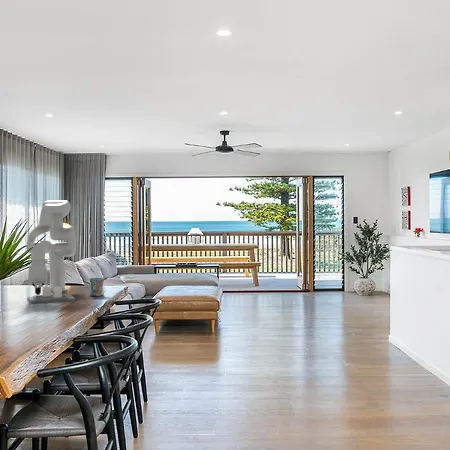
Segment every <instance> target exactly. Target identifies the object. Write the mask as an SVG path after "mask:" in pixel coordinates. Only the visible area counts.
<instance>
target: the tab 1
mask: <svg viewBox="0 0 450 450" xmlns="http://www.w3.org/2000/svg"><path fill="white" fill-rule="evenodd" d="M41 292H42V295H43V296H51V295H52V291H51V287H50V285H48V284H45V285H43V286H42V287H41Z"/></svg>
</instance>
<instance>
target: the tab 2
mask: <svg viewBox="0 0 450 450" xmlns="http://www.w3.org/2000/svg"><path fill="white" fill-rule="evenodd" d="M52 292H53V294H54V298H57V297H62V294H63V291H62V288H61V287H59V286H56V287H54V288H53V291H52Z"/></svg>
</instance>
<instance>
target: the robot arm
mask: <svg viewBox="0 0 450 450" xmlns="http://www.w3.org/2000/svg"><path fill="white" fill-rule="evenodd" d="M71 207H72V206H71V203H70V202H69V200H55V199H53V200H45V201H43V202H42V206H41V211H40V215H39V220H38V225H37V226H35V227H34V228H33V229H32V230H31V231H30V232H29V234H28V237H27V241H26V251H27V250H29V249H30V248H32V247H33V248H32V249H31V250H30V251H29V252H28V253H29V254H30V265H28V266H29V267H28V275H27V276H28V279H27V280H28V283H27V284H28V286H32V287H34V294H36V295H41V293H42V286H45V285H48V269H47V263H48V260H46V258H45V257H46V255H45V254H48V258H49V286H50V287H51V292H53V288H54V287H56V286H59V287H61V288H62V292H64V291H68V287H66V264H65V260H64V259H63V257H65V258H70V257H74V256H75V255H76V254H77V253H76V252H77V241H76V230H75V228H74V226H72V225H64V220H63V219H64V218H65V217H67V215H69V214H70V212H71V209H72V208H71ZM48 232H49V236H50V237H49V238H50V239H51V240H52V241H55V242H51V241H49V240H36V239H37V238H38V237H39V236H41V235H43V234H45V233H48ZM38 241H39V242H38ZM56 241H57V242H56ZM58 241H59V242H58ZM62 241H63V242H62ZM37 242H38V243H37ZM36 243H37V244H36ZM35 244H36V245H35ZM33 253H34V254H33ZM32 254H33V255H32ZM31 261H32V262H31ZM36 295H35V296H36Z"/></svg>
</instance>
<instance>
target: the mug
mask: <svg viewBox="0 0 450 450" xmlns="http://www.w3.org/2000/svg"><path fill="white" fill-rule="evenodd" d="M88 281H89V283H90V292H89V296H91V297H102V296H104V295H105V294H104V289H103V284H104V281H105V278H104V277H90V278H88Z"/></svg>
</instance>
